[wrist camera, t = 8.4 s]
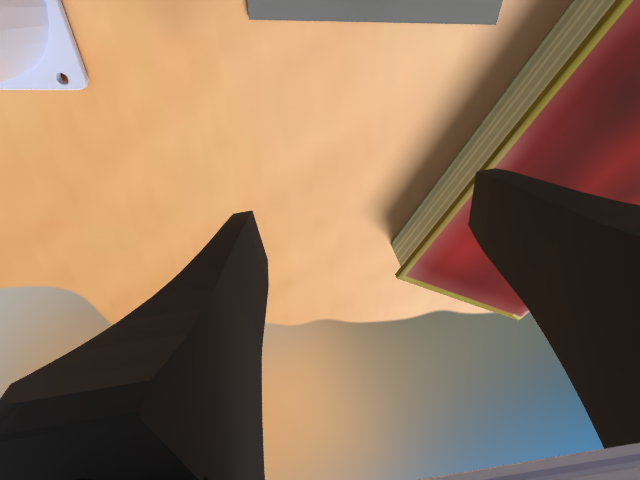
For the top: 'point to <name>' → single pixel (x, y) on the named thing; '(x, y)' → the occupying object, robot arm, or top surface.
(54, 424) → the robot arm
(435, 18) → the mat
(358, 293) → the top surface
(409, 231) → the hardcover book
